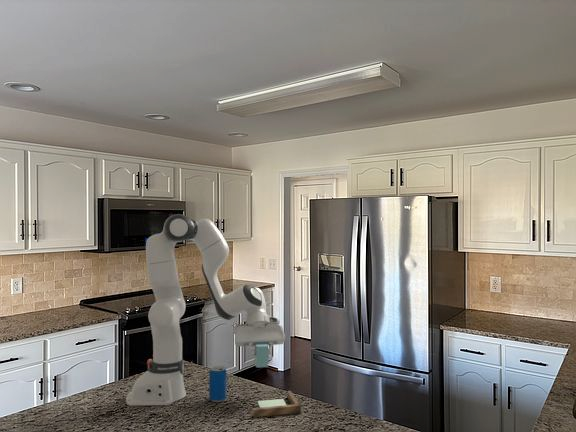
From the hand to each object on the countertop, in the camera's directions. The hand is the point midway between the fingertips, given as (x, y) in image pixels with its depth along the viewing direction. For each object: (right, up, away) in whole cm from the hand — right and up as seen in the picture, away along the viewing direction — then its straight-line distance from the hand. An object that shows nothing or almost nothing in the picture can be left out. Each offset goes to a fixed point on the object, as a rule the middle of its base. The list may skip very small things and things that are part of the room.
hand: (261, 354), depth 176 cm
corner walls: (+5, -16, -9) cm, 20 cm away
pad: (+5, -17, -8) cm, 19 cm away
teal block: (0, -5, +1) cm, 5 cm away
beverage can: (-17, -17, -3) cm, 24 cm away
